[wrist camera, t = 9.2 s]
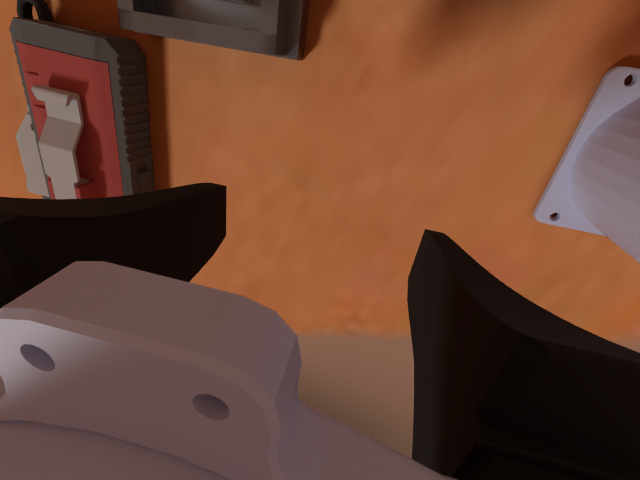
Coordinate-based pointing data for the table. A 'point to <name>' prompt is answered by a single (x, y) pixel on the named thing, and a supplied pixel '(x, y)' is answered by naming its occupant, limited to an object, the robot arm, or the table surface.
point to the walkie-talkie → (81, 109)
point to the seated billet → (241, 1)
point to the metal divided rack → (223, 23)
